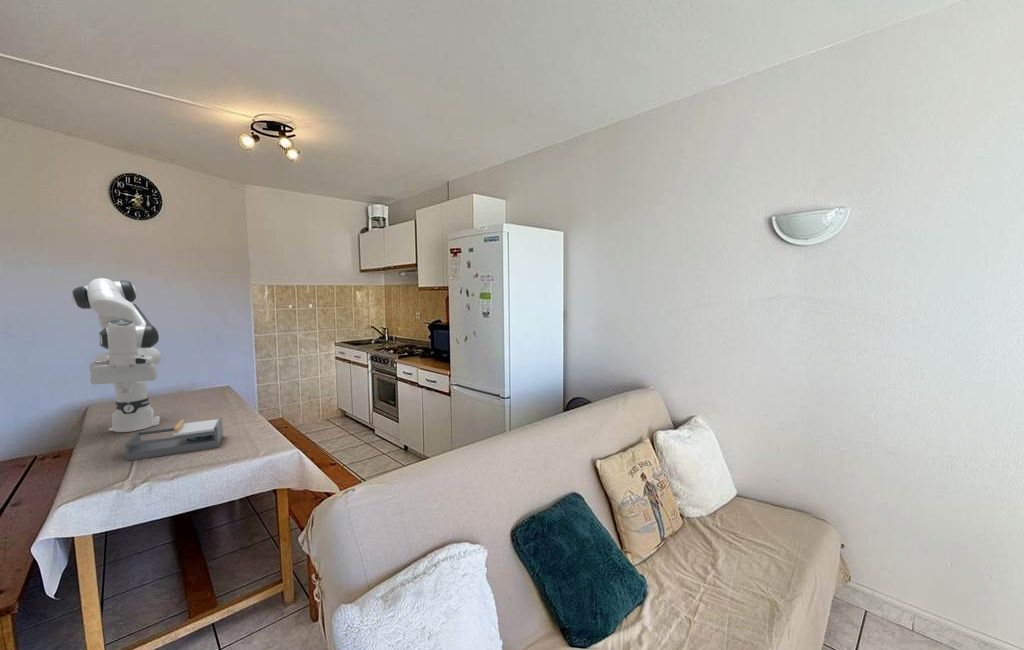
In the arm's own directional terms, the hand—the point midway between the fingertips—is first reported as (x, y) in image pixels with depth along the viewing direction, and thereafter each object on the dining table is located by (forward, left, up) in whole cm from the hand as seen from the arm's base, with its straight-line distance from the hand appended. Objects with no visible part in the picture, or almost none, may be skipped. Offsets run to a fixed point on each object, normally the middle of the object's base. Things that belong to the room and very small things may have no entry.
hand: (126, 392), depth 169 cm
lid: (+3, +23, -18) cm, 30 cm away
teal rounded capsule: (+3, +22, -25) cm, 33 cm away
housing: (+3, +16, -25) cm, 30 cm away
